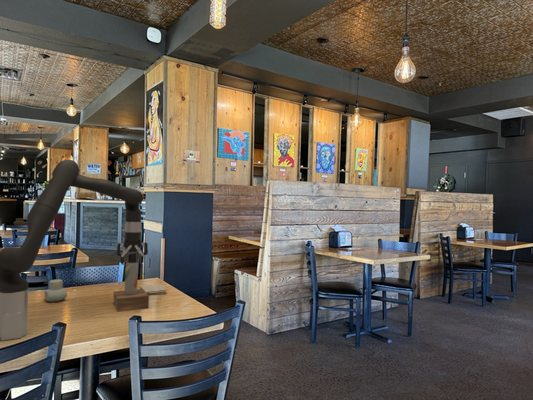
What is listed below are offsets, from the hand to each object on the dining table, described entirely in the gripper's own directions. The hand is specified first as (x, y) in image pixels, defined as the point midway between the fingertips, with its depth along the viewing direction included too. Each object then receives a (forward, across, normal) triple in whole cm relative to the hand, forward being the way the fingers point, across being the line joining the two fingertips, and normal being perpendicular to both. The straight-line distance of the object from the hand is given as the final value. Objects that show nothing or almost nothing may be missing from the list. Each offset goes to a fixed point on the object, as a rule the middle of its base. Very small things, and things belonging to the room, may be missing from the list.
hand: (131, 264), depth 180 cm
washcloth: (+21, +16, +24) cm, 36 cm away
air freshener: (+21, -32, +24) cm, 45 cm away
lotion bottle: (+15, 0, 0) cm, 15 cm away
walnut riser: (+21, 0, 0) cm, 21 cm away
